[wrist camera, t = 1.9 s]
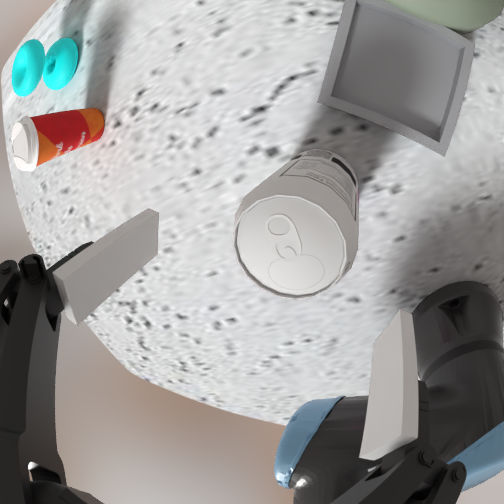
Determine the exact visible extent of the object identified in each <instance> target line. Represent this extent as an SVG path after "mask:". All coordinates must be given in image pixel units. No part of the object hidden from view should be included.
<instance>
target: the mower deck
mask: <svg viewBox="0 0 504 504" xmlns="http://www.w3.org/2000/svg"><path fill="white" fill-rule="evenodd" d="M503 7H504V0H345V2H344V6H343V10H342V14H341V18H340V22H339V26H338V29H337V33H336V37H335V41H334V44H333V48H332V52H331V56H330V59H329V63H328V67H327V70H326V74H325V77H324V81H323V85H322V88H321V92H320V95H319V99H318V102H317V103H321V104H324V105H327V106H330V107H333V108H336V109H339V110H342V111H344V112H347V113H350V114H353V115H355V116H358V117H361V118H363V119H366V120H368V121H371V122H373V123H376V124H378V125H381V126H383V127H385V128H388V129H390V130H392V131H394V132H397V133H399V134H401V135H403V136H405V137H407V138H409V139H411V140H414V141H416V142H418V143H420V144H422V145H423V146H425V147H427V148H429V149H431V150H433V151H435V152H437V153H439V154H440V155H442V156H444V157H445V154H446V152H447V149H448V146H449V143H450V140H451V138H452V135H453V132H454V129H455V125H456V122H457V119H458V116H459V112H460V109H461V105H462V102H463V98H464V94H465V91H466V86H467V82H468V78H469V74H470V69H471V64H472V59H473V53H474V47H475V44H474V43H473V42H471V41H469V40H468V39H466V38H464V37H463V36H461V35H459V34H462V33H469V32H472V31H475V30H477V29H478V28H480V27H482V26H484V25H485V24H487V23H489V22H490V21H492V20H494V19H495V18H496V17H497V16H499V15H500V13H501V11H502V10H503Z"/></svg>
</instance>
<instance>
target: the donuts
mask: <svg viewBox="0 0 504 504" xmlns="http://www.w3.org/2000/svg"><path fill="white" fill-rule="evenodd" d="M77 62H78V48H77V45H76V43H75V42H74V41H73V40H72V39H70V38H62V39H59V40H58V41H56V42H55V43H54V44H53V45H52V46H51V47H50V49H49V50H48V52H47V54H46V56H45V51H44V47H43V45H42V43H41V42H40V41H38V40H35V39H32V40H29V41H27V42H26V43H24V44H23V45H22V46H21V48H20V49H19V51H18V53H17V55H16V57H15V60H14V64H13V69H12V86H13V89H14V92H15V93H16V94H17V95H18V96H27V95H29V94H30V93H31V92H33V90H34V89H35V88H36V86H37V85H38V83H39V81H40V79H41V76H42V73H43V79H44V82H45V84H46V85H47V87H49V88H50V89H52V90H59V89H61V88H63V87H64V86H66V85H67V84H68V83H69V81H70V80H71V78H72V77H73V75H74V72H75V70H76V66H77Z"/></svg>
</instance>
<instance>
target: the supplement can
mask: <svg viewBox="0 0 504 504" xmlns="http://www.w3.org/2000/svg"><path fill="white" fill-rule="evenodd" d="M358 230H359V190H358V181H357V177H356V175H355V173H354V171H353V169H352V167H351V165H350V164H349V163H348V162H347V161H346V160H345V159H344V158H342V157H341V156H340V155H338V154H336V153H333V152H331V151H329V150H322V149H311V150H308V151H305V152H302V153H300V154H298V155H297V156H296V157H294V158H293V159H292V160H290V161H289V162H288V163H286V164H285V165H284V166H283V167H281V168H280V169H279V170H277V171H276V172H275V173H273V174H272V175H271V176H270V177H268V178H267V179H266V180H265V181H263V182H262V183H261V184H260V185H258V186H257V187H256V188H255V189H253V190H252V191H251V192H250V193H249V194H247V195H246V196H245V197H244V198H243V200H242V202H241V204H240V206H239V208H238V210H237V212H236V214H235V221H234V231H233V235H234V236H233V248H234V252H235V256H236V259H237V262H238V264H239V265H240V267H241V268H242V270H243V272H244V273H245V275H246V276H247V277H248V278H249V279H250V280H251V281H252V282H253V283H255V284H256V285H257V286H258V287H259V288H260V289H262V290H264V291H266V292H268V293H270V294H273V295H275V296H277V297H281V298H287V299H293V300H299V299H307V298H313V297H316V296H318V295H320V294H322V293H324V292H326V291H328V290H329V289H330V288H331V287H332V286H333V285H334V284H336V283H338V282H339V281H340V280H341V279H342V278H343V277H344V275H345V274H346V273H347V272H348V271H349V270H350V269H351V267H352V264H353V262H354V259H355V256H356V253H357V250H358Z"/></svg>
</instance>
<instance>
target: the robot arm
mask: <svg viewBox="0 0 504 504" xmlns="http://www.w3.org/2000/svg"><path fill="white" fill-rule="evenodd" d="M158 224H159V213H158V212H156V211H153V210H151V209H146V210H145V211H143V212H141V213H140V214H138V215H136V216H135V217H133V218H132V219H130V220H128V221H127V222H125V223H124V224H122V225H120V226H119V227H117V228H116V229H114V230H113V231H111V232H110V233H108V234H106V235H105V236H103V237H102V238H100V239H99V240H97V241H96V242H89V243H86V244H83V245H81V246H80V247H78V248H77V249H75V250H74V251H72V252H71V253H69V254H68V256H65V257H64V258H62V259H61V260H60V261H58V262H57V263H55V264H54V265H53V266H51V267H50V268H49V269H47V270H46V268H45V265H44V261H43V258H42V257H41V256H40V255H38V254H31V255H28V256H25V257H24V258H23V259H21V260H20V262H19V263H18V265H19V268H20V270H19V268H18V265H17V263H16V262H15V261H13V260H7V261H4V262H3V263H1V264H0V504H103V503H102V502H100V501H99V500H98V499H96V498H95V497H93V496H92V495H91V494H89V493H86V492H82V491H79V490H77V489H74V488H72V487H68V486H67V484H66V478H65V471H64V466H63V463H62V460H61V458H60V456H59V454H58V452H57V444H56V429H55V375H56V359H57V348H58V339H59V331H60V323H61V313H60V312H61V311H63V310H65V313H66V315H67V318H69V319H70V320H71V321H72V322H73V323H75V324H76V325H79V324H80V323H81V322H82V321H83V320H84V319H85V318H86V317H87V316H88V315H90V314H91V313H92V312H93V311H94V310H95V309H96V308H97V307H98V306H99V305H100V304H101V303H102V302H104V301H105V300H106V299H107V298H108V297H109V296H110V295H111V294H112V293H114V292H115V291H116V290H117V289H118V288H119V287H120V286H121V285H122V284H124V283H125V282H126V281H127V280H128V279H129V278H130V277H132V276H133V275H134V274H135V273H136V272H137V271H138V270H140V269H141V268H142V267H143V266H144V265H145V264H147V263H148V262H149V261H150V260H151V259H153V258H154V257H155V256H156V255H157V254H158ZM6 299H7V301H8V305H7V306H5V305H4V302H5V300H6ZM418 376H419V378H420V380H421V381H420V380H418ZM28 469H29V470H30V472H31V474H32V479H33V481H30V478H29V470H28ZM502 470H504V348H503V314H502V310H501V306H500V304H499V302H498V300H497V298H496V296H495V294H494V293H493V291H492V290H491V289H490V288H488V287H487V286H485V285H483V284H481V283H477V282H458V283H454V284H451V285H448V286H445V287H443V288H441V289H439V290H437V291H436V292H434V293H432V294H431V295H430V296H428V297H427V298H426V299H425V300H424V301H422V302H421V303H420V304H419V306H418V307H417V308H416V309H415V310H414V312H413V313H412V314H411V313H409V312H406V311H404V310H401V309H399V310H398V312H397V313H396V315H395V316H394V317H393V319H392V320H391V321H390V323H389V324H388V325H387V327H386V328H385V329H384V331H383V332H382V333H381V334H380V336H379V337H378V338H377V339H376V341H375V342H374V343H373V353H372V367H371V379H370V389H369V395H368V396H355V397H346V396H339V397H337V398H329V399H316V400H312V401H309V402H307V403H305V404H304V405H302V406H301V407H300V408H299V409H298V410H297V411H296V412H295V413H294V415H293V416H292V418H291V419H290V421H289V423H288V425H287V426H286V428H285V430H284V432H283V435H282V437H281V440H280V443H279V446H278V449H277V453H276V458H275V466H274V472H275V478H276V479H277V482H278V483H279V484H280V485H281V486H283V487H285V488H288V489H291V488H293V489H294V501H293V504H456V502H457V499H458V497H459V495H460V493H461V492H462V491H465V490H468V489H470V488H472V487H474V486H477V485H479V484H481V483H483V482H485V481H486V480H488V479H490V478H492V477H493V476H495V475H496V474H498V473H500V472H501V471H502Z"/></svg>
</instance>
